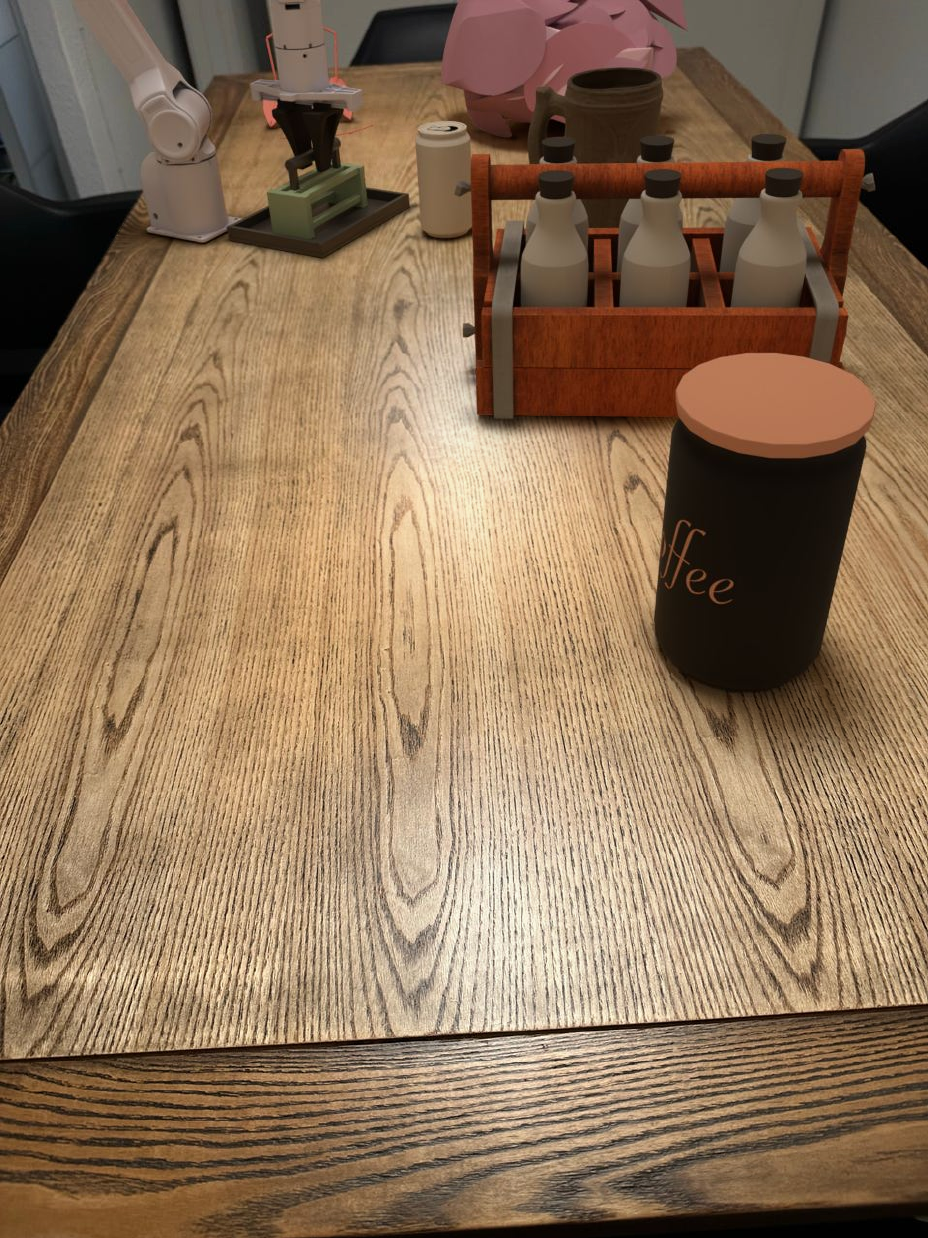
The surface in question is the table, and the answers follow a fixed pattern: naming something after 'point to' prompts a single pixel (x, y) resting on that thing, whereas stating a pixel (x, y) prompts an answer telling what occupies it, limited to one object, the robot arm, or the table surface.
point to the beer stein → (601, 124)
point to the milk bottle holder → (650, 275)
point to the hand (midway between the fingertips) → (314, 168)
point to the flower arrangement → (548, 49)
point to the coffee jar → (757, 515)
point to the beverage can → (443, 178)
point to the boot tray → (322, 225)
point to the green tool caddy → (315, 194)
